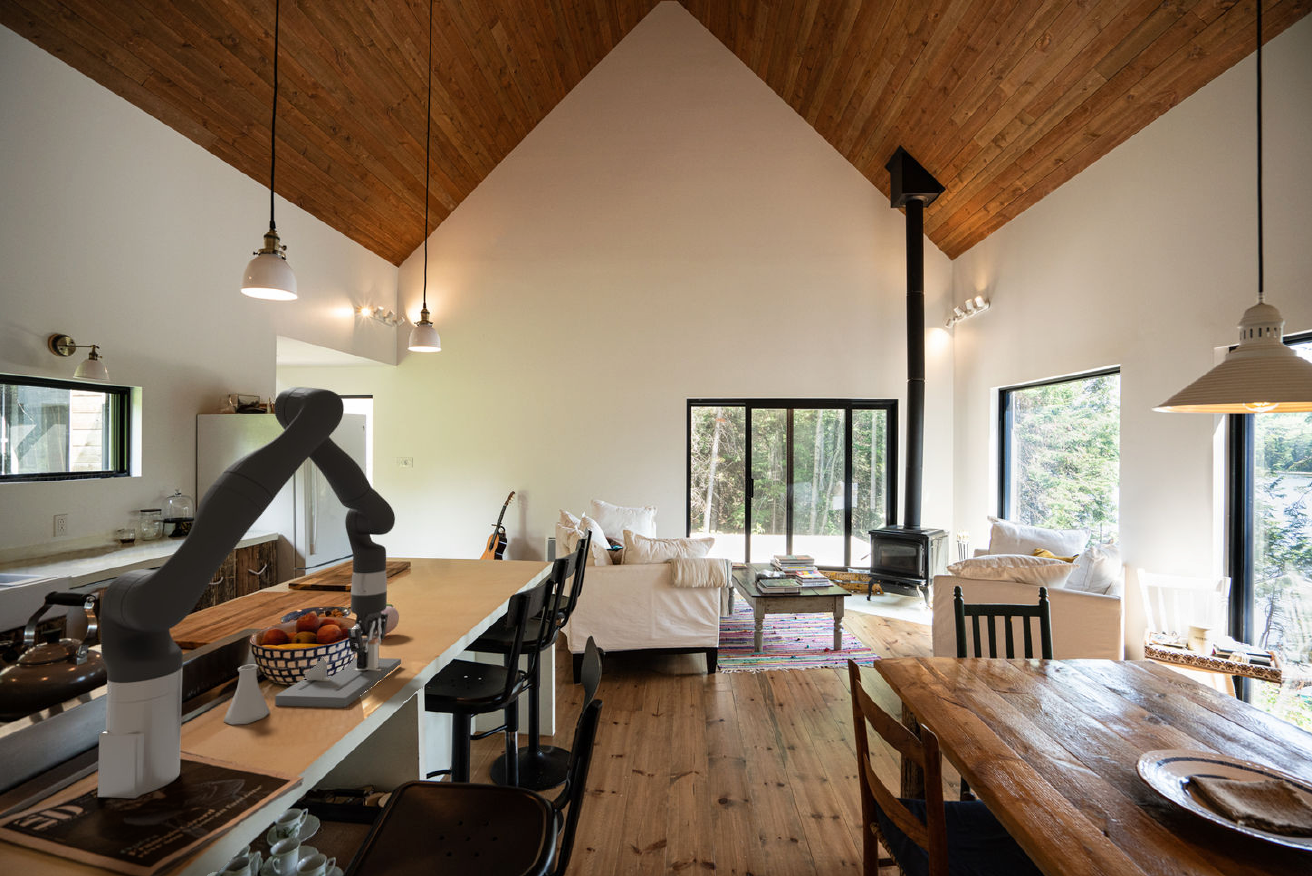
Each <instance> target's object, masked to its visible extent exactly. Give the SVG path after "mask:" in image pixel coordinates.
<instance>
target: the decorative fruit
mask: <svg viewBox="0 0 1312 876" xmlns="http://www.w3.org/2000/svg"><path fill="white" fill-rule="evenodd" d="M381 613H384V614H388V619H387V625H386V632H385V636H386V635H388V634H389V633H391V632H392V631H394V630H395V629H396V627H397V626H398V623H399V622H400V613H399V612H398V610H397V609H396V608H395V607H394V605H393V604H392V603H387V607H386V609H385V610H384V611H382V612H381ZM381 630H382V629H381ZM387 633H388V634H387Z"/></svg>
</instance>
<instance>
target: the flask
mask: <svg viewBox="0 0 1312 876" xmlns="http://www.w3.org/2000/svg"><path fill="white" fill-rule="evenodd" d="M258 669H259V665H258V664H255V663H252V664H251V663H250V664H244V665H241V666H240V667H238V668H237V672H239V678H238V683H237V688H236V690H235V693H234V695H233V697H232V700H231V702H230V705H229V707H228V710H227V711H226V714H225V715H224V718H223V722H225V723H227V724H230V725H248V724H250V723H253V722H255V721H259V720H262V719H264V718H265V717H266V716H267V715H269V714H270V713H271V711H270V708H269V706H268V703H267V702H266V700H265V698H264V695H263V693H262V690H261V688H260V686H259V682H258V677H257V670H258Z"/></svg>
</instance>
